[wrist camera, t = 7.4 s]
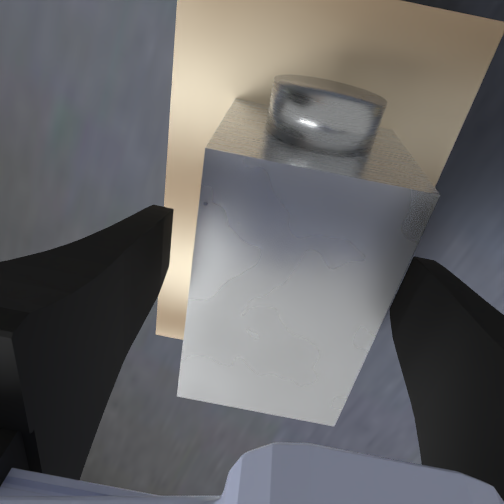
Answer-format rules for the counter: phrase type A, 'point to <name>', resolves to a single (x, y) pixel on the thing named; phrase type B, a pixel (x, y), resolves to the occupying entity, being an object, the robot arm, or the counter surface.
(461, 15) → the wood stand
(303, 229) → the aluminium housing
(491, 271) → the counter surface
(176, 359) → the counter surface
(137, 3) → the counter surface
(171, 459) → the counter surface
